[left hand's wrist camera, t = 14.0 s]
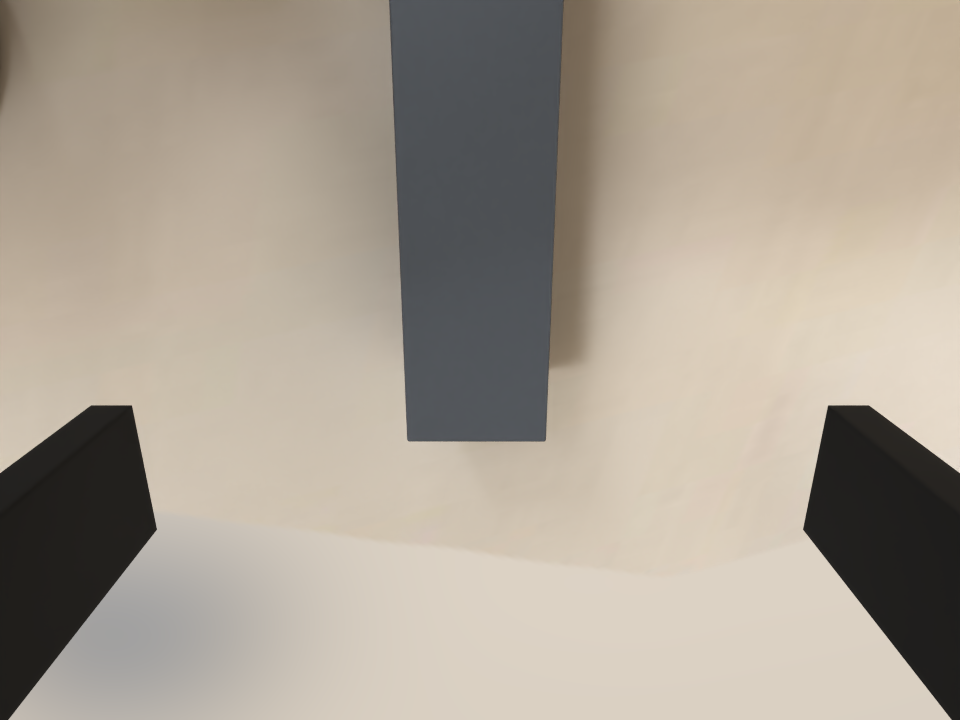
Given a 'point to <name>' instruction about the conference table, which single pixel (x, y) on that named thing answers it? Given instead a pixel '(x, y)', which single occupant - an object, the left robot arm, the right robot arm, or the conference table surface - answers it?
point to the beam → (476, 212)
